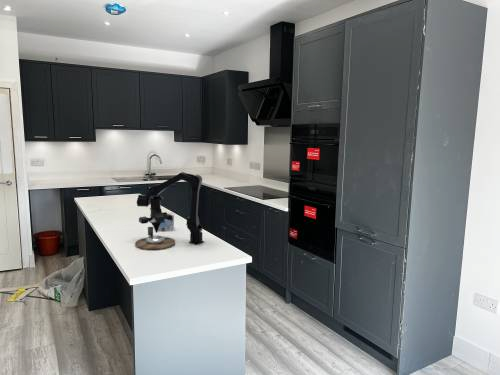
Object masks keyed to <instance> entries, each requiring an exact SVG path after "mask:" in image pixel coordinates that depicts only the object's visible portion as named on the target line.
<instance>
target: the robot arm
mask: <svg viewBox="0 0 500 375" xmlns="http://www.w3.org/2000/svg"><path fill="white" fill-rule="evenodd" d="M180 181H184V182H187V183H189V185H190V190H191V195H190V196H191V197H190V199H191V200H190V212H189V216H188V217H186V224H185V225H186V227H187V230H189V232H190V234H189V238H190V239H189V241H188V244H194V245H200V244H203V243H205V241H204V240H203V232H202V231H203V229H204V227H203V226H202V225H201V224H200V219H199V215H198V211H199V197H200V189H201V187H202V183H203V177H202V176H201V175H200V174H192V173H187V172H183V171H181V172H179V173H177V174H176V175H174V176H173V177H171V178H168V179H167V180H165V181H164V182H161V183H157V184H155V185H152V186H150V187H149V188H148V192H147V194H138V195H137V200H136V205H137V207H145V208H147V207H149V206H150V208H149V210H150V215H149V216H150V217H147V216H139V217H138V222H139V223H141V224H148V223H150V224H151V225H152V227H153V230H154V232H155V233H158V232H159V231H158V228H159V226H160V224H161V223H162V222H163V221H164V219H167V220H173V217H172V215H170V214H167V213H168V212H167V211H165V212H163V211H162V208H161V206H162V205H161V200H164V199H165V198H164V196H162V194H161V193H162V192H164V191H165V190H166V189H168V188H169V187H171V186H172V185H174V184H176V183H178V182H180ZM158 195H159V196H158Z"/></svg>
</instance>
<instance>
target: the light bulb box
mask: <svg viewBox="0 0 500 375" xmlns="http://www.w3.org/2000/svg"><path fill="white" fill-rule="evenodd" d="M167 214H170V215H172V217H173V220H167V219H164V221H163V222H162V223H161V224H160V226H159V228H158V231H157V232H174V230H175V214H174V212H167Z"/></svg>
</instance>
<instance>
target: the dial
mask: <svg viewBox="0 0 500 375" xmlns="http://www.w3.org/2000/svg"><path fill="white" fill-rule="evenodd" d="M147 235H148V236H147V237H145V238H146V242H147V243H149V244H160V243H163V242H164V237H165V236H162V235H154V227H153V226H148V227H147Z"/></svg>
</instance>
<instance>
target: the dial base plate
mask: <svg viewBox="0 0 500 375" xmlns="http://www.w3.org/2000/svg"><path fill="white" fill-rule="evenodd" d="M163 237H164V242H163V243H160V244H149V243H147V242H146V238H147V237H143V238H139V239H137V240H136V241H135V243H134V244H135V247H136V248H137V249H139V250H142V251H143V250H144V251H161V250H167V249H168V250H169V249H171V248H174V247H175V245H176V240H175V239H174V238H171V237H169V236H163Z"/></svg>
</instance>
